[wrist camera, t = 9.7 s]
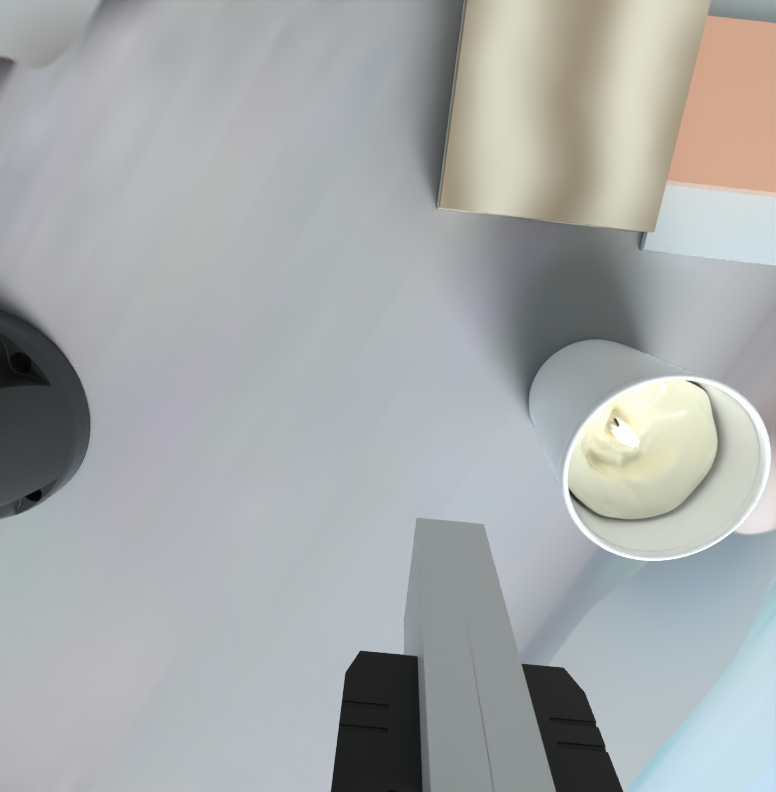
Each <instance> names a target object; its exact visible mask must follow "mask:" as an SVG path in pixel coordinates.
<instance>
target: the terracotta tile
mask: <svg viewBox="0 0 776 792" xmlns="http://www.w3.org/2000/svg"><path fill="white" fill-rule="evenodd" d="M666 185H670V186H679V187H688V188H697V189H706V190H715V191H724V192H733V193H742V194H751V195H760V196H769V197H776V23H770V22H761V21H752V20H743V19H734V18H725V17H716V16H707V19H706V23H705V27H704V31H703V35H702V40H701V44H700V48H699V52H698V56H697V60H696V64H695V68H694V72H693V76H692V80H691V85H690V89H689V93H688V97H687V101H686V105H685V109H684V113H683V117H682V121H681V125H680V129H679V134H678V138H677V142H676V146H675V150H674V154H673V158H672V162H671V166H670V170H669V174H668V178H667V183H666Z"/></svg>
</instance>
